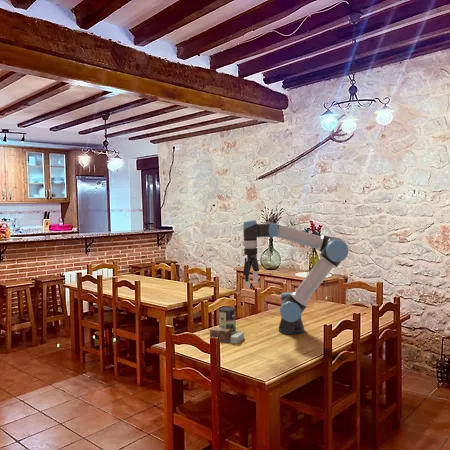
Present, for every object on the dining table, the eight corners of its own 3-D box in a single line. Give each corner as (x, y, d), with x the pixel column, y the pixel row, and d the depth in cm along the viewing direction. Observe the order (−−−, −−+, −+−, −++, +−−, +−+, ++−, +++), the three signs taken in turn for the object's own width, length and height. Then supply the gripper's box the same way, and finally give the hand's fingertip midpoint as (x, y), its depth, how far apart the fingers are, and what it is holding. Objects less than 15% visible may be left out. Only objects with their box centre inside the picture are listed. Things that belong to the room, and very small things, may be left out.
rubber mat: (236, 337, 250) (236, 336, 250) (229, 342, 240) (229, 342, 240) (219, 335, 254) (219, 334, 254) (211, 340, 245) (211, 340, 245)
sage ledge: (243, 338, 248) (243, 332, 248) (237, 343, 239) (237, 337, 238) (237, 337, 249) (237, 331, 249) (230, 342, 240) (230, 336, 240)
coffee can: (237, 329, 265) (236, 306, 264) (234, 334, 255) (233, 310, 254) (220, 328, 267) (220, 306, 266) (217, 333, 257) (216, 310, 256)
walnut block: (230, 329, 248) (213, 327, 252) (227, 331, 243) (209, 329, 248) (231, 337, 248) (213, 335, 253) (227, 340, 244) (210, 338, 248)
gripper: (251, 245, 259) (252, 280, 261) (236, 250, 236) (237, 288, 238) (263, 245, 256) (264, 280, 258) (249, 250, 233) (250, 289, 235)
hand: (251, 284), depth 248 cm, fingers open, 13 cm apart
